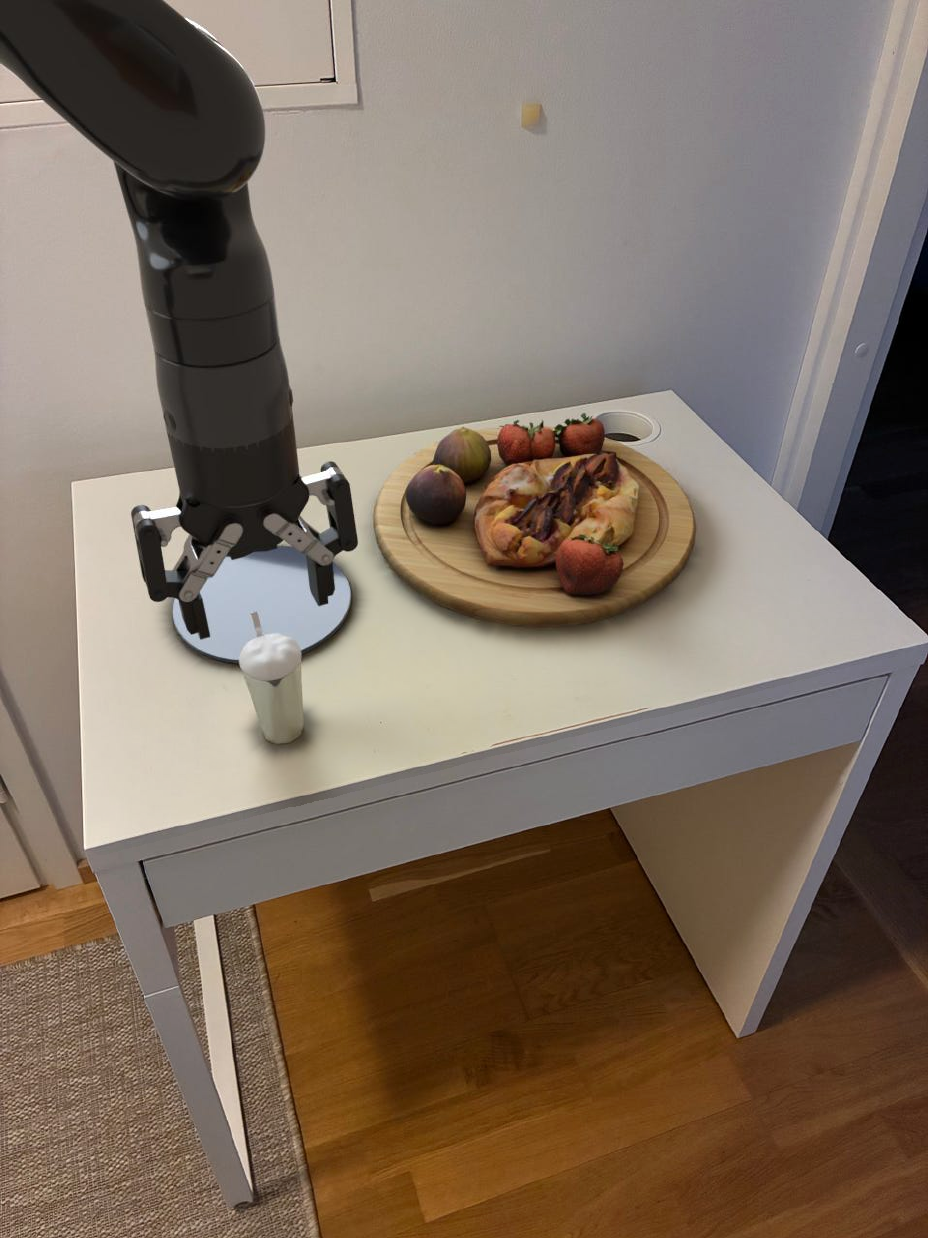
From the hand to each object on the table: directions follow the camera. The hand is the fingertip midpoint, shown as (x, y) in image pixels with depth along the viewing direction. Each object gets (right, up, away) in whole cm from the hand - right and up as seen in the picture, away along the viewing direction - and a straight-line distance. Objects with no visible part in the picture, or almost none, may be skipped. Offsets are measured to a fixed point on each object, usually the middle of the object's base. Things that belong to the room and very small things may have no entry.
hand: (261, 614), depth 68 cm
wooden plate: (+21, +9, +29) cm, 37 cm away
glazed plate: (-4, +1, +19) cm, 20 cm away
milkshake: (0, -9, +9) cm, 12 cm away
